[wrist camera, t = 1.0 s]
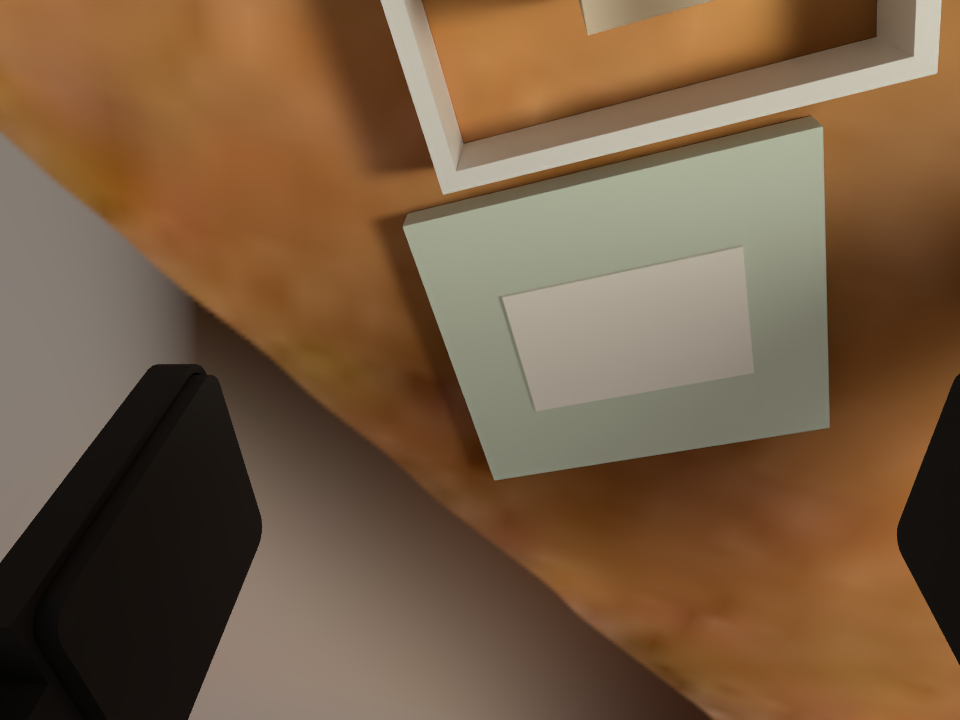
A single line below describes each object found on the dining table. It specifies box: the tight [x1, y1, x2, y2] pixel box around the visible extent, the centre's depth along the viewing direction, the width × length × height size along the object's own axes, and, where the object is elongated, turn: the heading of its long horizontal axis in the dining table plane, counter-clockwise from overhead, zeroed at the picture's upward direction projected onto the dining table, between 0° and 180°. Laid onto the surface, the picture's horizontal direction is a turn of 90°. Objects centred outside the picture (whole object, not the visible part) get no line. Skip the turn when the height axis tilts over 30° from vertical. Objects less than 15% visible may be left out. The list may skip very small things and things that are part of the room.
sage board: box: [403, 116, 830, 480], centre depth 36 cm, size 18×16×2 cm
